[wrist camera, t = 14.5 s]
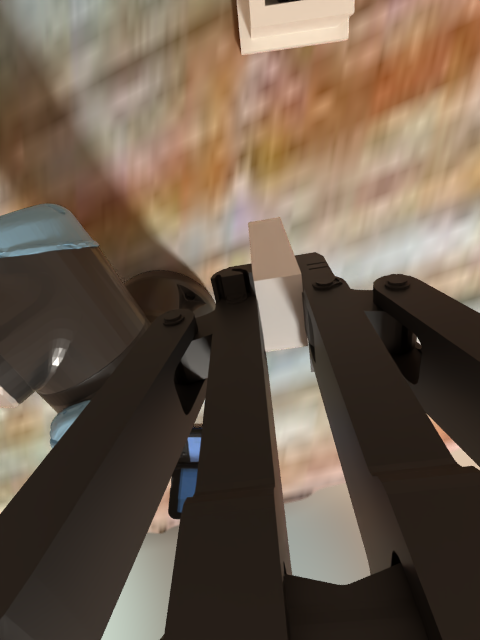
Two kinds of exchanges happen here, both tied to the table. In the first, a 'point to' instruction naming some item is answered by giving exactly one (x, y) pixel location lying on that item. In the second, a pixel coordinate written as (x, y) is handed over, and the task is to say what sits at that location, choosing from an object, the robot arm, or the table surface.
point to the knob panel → (291, 23)
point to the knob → (286, 0)
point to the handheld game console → (185, 474)
